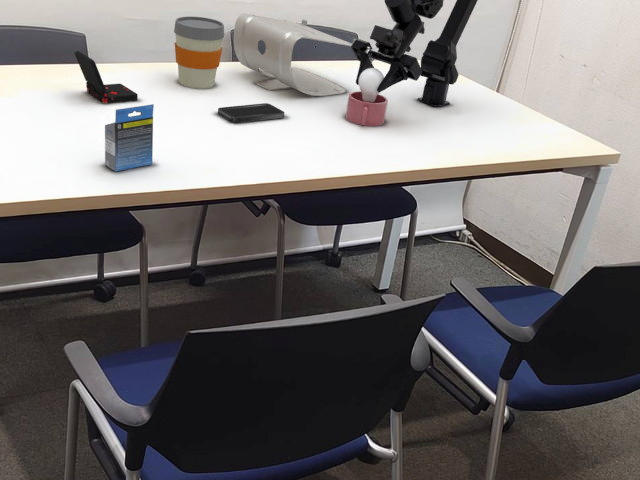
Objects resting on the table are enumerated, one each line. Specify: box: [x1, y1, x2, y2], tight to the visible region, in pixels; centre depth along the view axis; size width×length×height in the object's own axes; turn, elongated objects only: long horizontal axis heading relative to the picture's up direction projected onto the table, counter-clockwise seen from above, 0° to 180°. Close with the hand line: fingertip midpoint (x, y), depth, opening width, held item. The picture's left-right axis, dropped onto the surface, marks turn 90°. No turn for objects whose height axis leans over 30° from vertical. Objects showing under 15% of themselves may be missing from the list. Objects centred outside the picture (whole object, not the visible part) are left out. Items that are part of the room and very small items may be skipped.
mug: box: [345, 90, 389, 127], centre depth 215 cm, size 13×10×6 cm
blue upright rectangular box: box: [104, 103, 155, 173], centre depth 171 cm, size 9×4×12 cm, turn 133°
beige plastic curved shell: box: [233, 13, 357, 97], centre depth 233 cm, size 26×24×16 cm
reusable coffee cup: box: [173, 16, 225, 90], centre depth 222 cm, size 12×13×15 cm
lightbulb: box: [358, 67, 385, 103], centre depth 214 cm, size 6×6×11 cm
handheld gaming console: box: [74, 50, 138, 104], centre depth 206 cm, size 9×12×10 cm
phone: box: [217, 102, 285, 124], centre depth 209 cm, size 8×1×15 cm
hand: (367, 87), depth 213 cm, fingers closed on lightbulb, 6 cm apart
